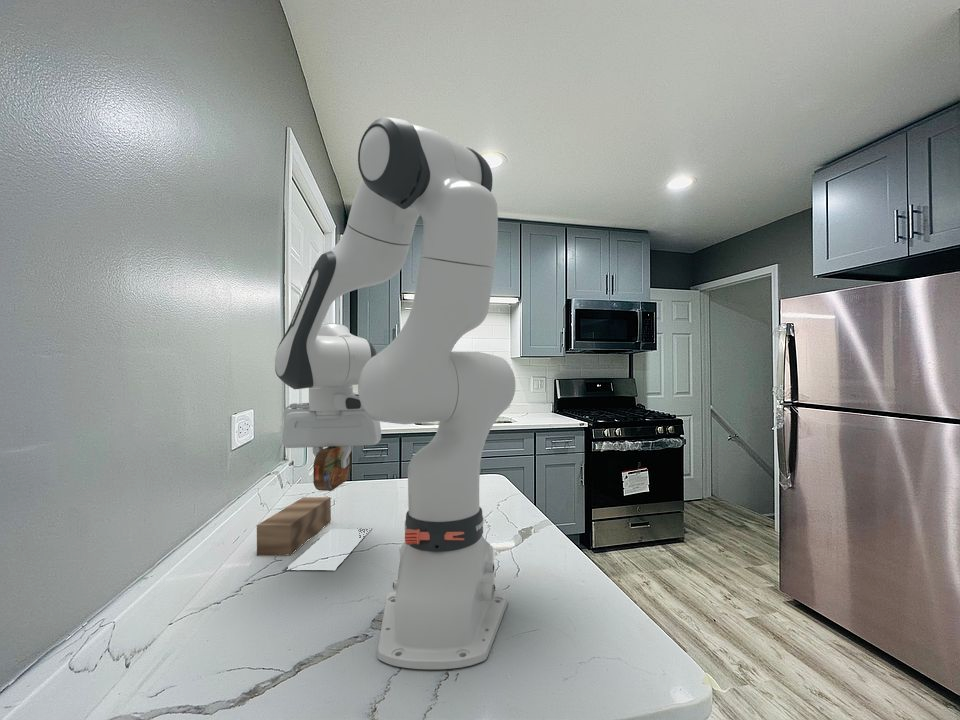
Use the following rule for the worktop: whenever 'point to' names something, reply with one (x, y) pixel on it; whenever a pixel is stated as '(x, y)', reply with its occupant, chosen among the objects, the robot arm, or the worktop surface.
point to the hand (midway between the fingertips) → (332, 468)
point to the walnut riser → (293, 526)
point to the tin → (330, 469)
